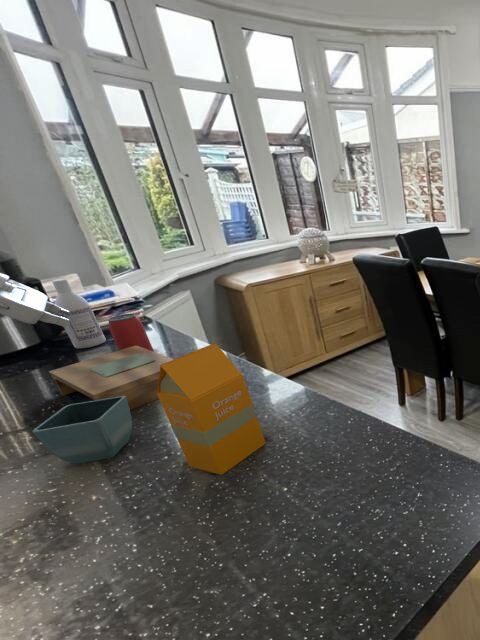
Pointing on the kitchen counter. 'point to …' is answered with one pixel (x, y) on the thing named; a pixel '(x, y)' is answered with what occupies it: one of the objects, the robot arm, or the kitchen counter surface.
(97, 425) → the flower pot
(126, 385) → the wooden slab
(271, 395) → the kitchen counter surface
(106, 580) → the kitchen counter surface
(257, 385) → the kitchen counter surface
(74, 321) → the bath foam
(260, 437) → the orange juice
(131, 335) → the beer can
